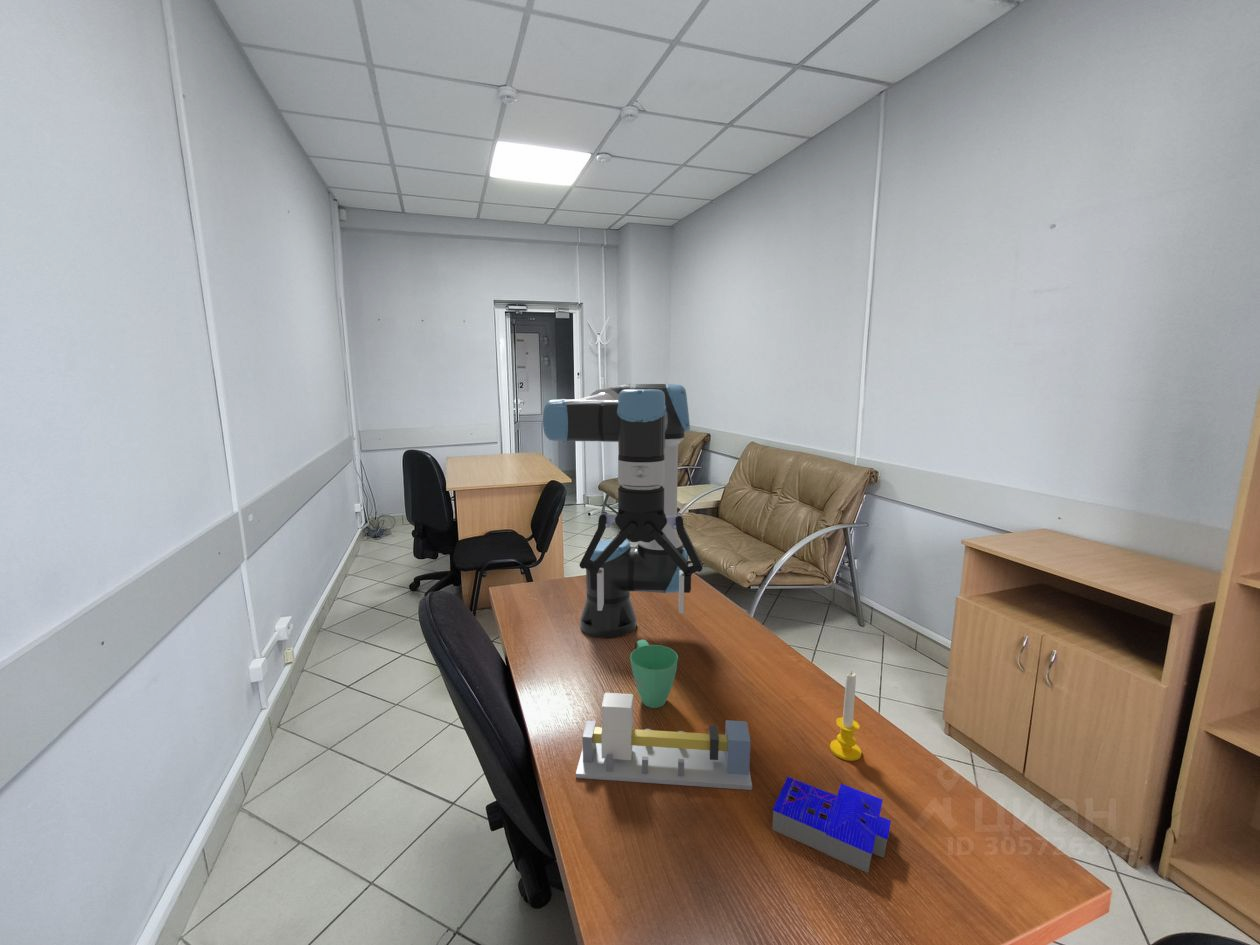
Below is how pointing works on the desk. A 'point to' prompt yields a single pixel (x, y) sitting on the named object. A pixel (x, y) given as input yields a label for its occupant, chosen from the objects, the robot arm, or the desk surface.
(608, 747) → the sleeve
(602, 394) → the robot arm
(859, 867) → the house
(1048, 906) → the desk surface
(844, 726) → the candle
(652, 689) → the mug
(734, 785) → the comb rig
